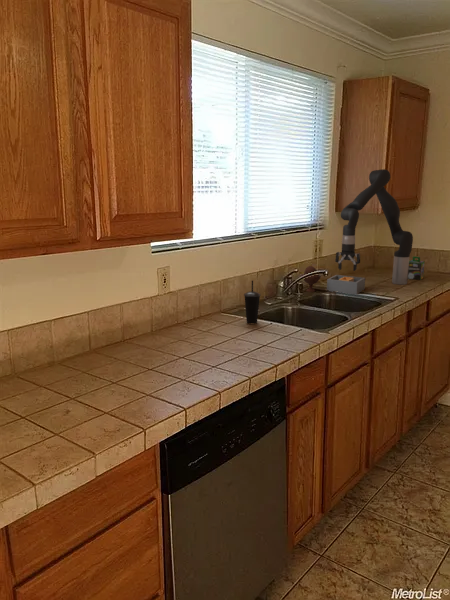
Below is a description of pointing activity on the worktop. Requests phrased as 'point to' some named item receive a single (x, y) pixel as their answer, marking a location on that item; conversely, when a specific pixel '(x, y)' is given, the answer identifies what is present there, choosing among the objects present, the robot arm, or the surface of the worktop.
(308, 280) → the ice cream bowl
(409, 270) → the chalk box
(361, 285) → the charcoal crate
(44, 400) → the worktop surface
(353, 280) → the orange crate
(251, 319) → the drinking cup
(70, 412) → the worktop surface
